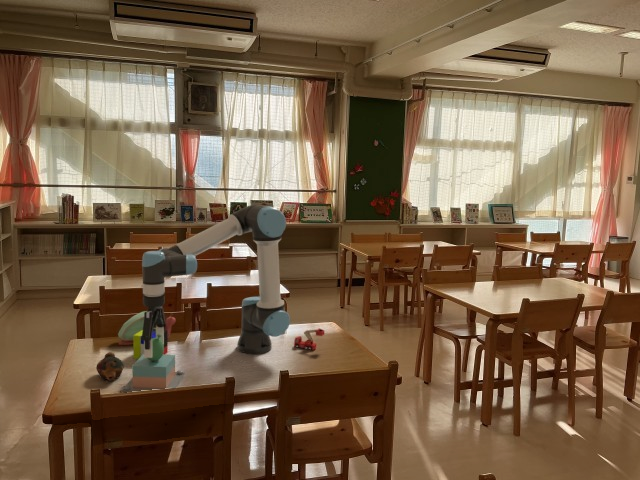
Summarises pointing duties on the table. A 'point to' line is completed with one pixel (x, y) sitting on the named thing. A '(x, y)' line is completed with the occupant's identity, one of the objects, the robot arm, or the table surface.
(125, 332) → the toy snail
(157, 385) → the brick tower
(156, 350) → the alien toy
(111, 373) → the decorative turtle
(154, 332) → the puzzle toy
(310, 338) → the toy fire truck
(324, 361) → the table surface
